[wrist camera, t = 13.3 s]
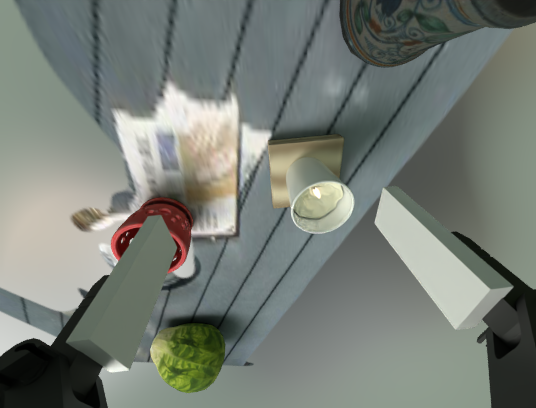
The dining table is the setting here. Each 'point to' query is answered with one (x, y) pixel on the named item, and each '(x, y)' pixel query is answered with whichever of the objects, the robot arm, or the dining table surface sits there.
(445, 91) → the dining table surface
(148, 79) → the dining table surface
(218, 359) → the lettuce
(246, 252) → the dining table surface
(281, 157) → the plinth
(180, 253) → the plant pot
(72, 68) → the dining table surface
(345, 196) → the candle holder
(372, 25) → the beer stein
